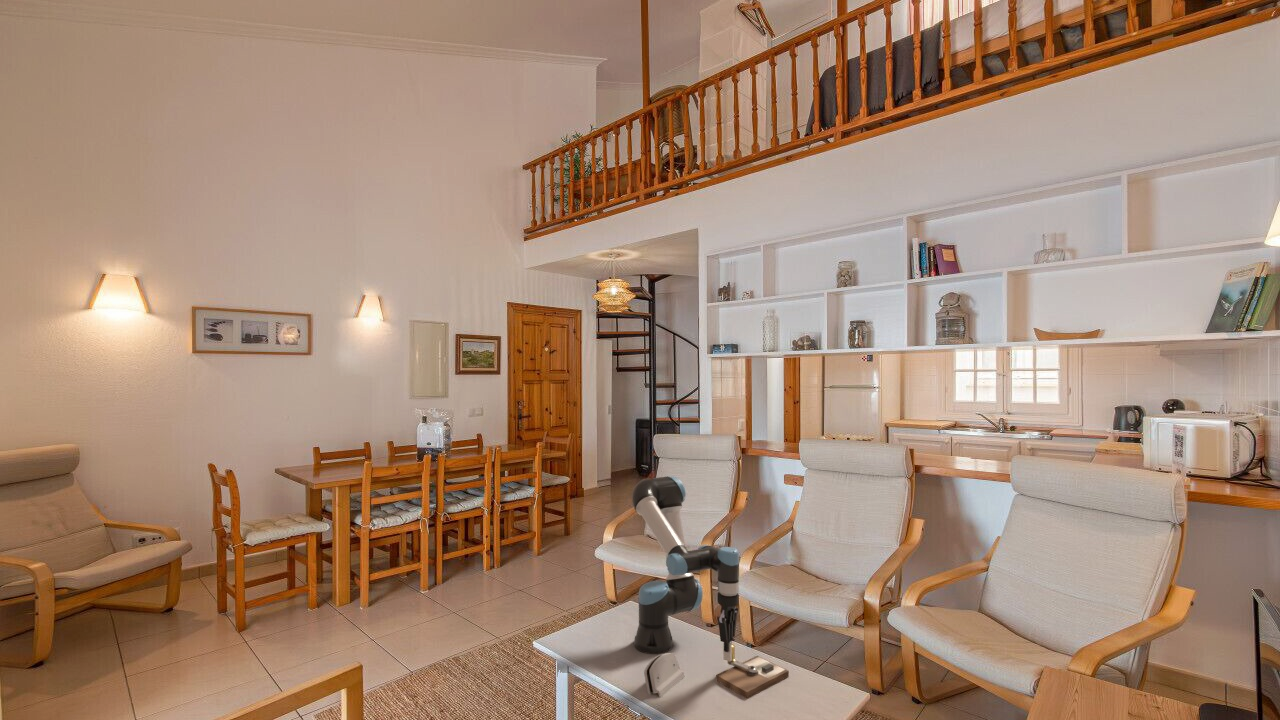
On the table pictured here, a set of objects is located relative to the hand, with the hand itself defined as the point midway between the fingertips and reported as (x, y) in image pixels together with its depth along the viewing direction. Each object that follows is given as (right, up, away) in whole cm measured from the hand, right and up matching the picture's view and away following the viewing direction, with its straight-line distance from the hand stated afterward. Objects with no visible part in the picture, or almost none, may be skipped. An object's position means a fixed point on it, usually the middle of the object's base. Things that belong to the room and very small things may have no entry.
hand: (727, 659), depth 205 cm
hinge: (-23, -5, -7) cm, 25 cm away
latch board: (+8, -5, -4) cm, 10 cm away
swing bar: (+5, -2, -1) cm, 6 cm away
